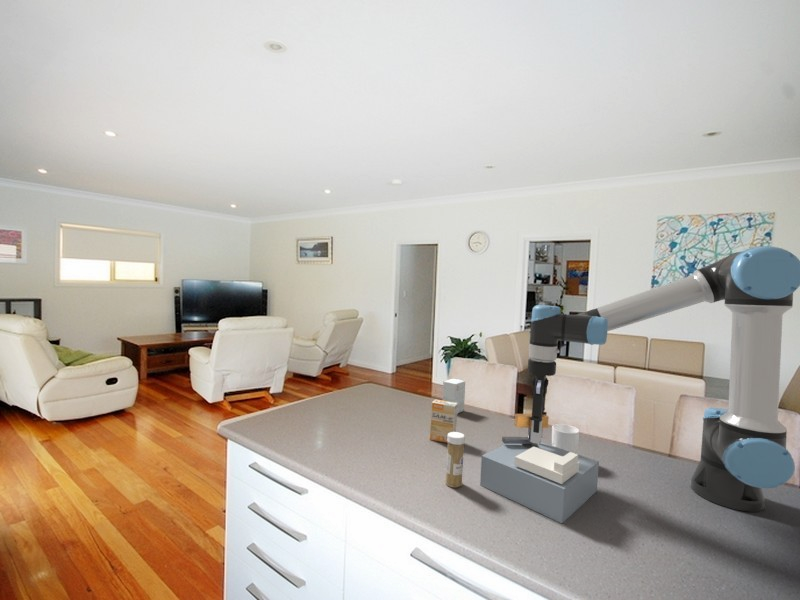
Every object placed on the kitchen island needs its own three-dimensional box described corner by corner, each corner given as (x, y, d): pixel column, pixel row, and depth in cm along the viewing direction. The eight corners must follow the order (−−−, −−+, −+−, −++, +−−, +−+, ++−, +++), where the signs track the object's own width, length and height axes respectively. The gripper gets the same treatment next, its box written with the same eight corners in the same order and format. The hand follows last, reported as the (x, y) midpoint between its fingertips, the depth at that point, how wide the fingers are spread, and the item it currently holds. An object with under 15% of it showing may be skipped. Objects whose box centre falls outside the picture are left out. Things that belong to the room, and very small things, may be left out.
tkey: (546, 444, 111) (548, 416, 111) (504, 444, 110) (506, 416, 110) (543, 441, 114) (544, 414, 113) (501, 440, 112) (503, 413, 112)
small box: (451, 407, 170) (453, 378, 170) (464, 410, 166) (465, 380, 166) (441, 411, 164) (443, 381, 163) (454, 415, 160) (456, 384, 159)
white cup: (580, 467, 118) (582, 434, 117) (552, 463, 119) (554, 431, 119) (573, 456, 125) (575, 425, 125) (548, 452, 127) (549, 422, 126)
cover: (578, 471, 97) (579, 454, 96) (561, 484, 90) (562, 466, 89) (533, 454, 105) (534, 439, 105) (514, 465, 98) (515, 448, 98)
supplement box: (429, 440, 133) (431, 402, 133) (433, 435, 138) (435, 398, 137) (452, 444, 130) (454, 406, 130) (456, 439, 135) (458, 402, 134)
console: (596, 490, 104) (598, 459, 104) (562, 523, 88) (564, 487, 88) (521, 461, 120) (522, 434, 119) (480, 485, 104) (481, 454, 104)
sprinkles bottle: (460, 489, 101) (463, 438, 101) (443, 486, 103) (446, 436, 102) (463, 481, 106) (465, 432, 105) (446, 478, 107) (449, 430, 107)
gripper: (554, 366, 102) (547, 454, 103) (558, 356, 117) (552, 432, 118) (524, 362, 105) (518, 447, 106) (532, 353, 120) (526, 427, 122)
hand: (536, 439), depth 112 cm, fingers closed on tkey, 4 cm apart
